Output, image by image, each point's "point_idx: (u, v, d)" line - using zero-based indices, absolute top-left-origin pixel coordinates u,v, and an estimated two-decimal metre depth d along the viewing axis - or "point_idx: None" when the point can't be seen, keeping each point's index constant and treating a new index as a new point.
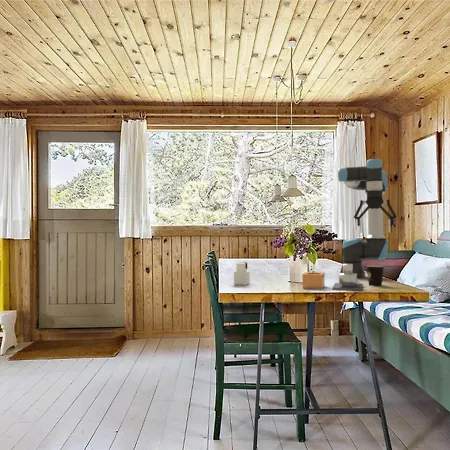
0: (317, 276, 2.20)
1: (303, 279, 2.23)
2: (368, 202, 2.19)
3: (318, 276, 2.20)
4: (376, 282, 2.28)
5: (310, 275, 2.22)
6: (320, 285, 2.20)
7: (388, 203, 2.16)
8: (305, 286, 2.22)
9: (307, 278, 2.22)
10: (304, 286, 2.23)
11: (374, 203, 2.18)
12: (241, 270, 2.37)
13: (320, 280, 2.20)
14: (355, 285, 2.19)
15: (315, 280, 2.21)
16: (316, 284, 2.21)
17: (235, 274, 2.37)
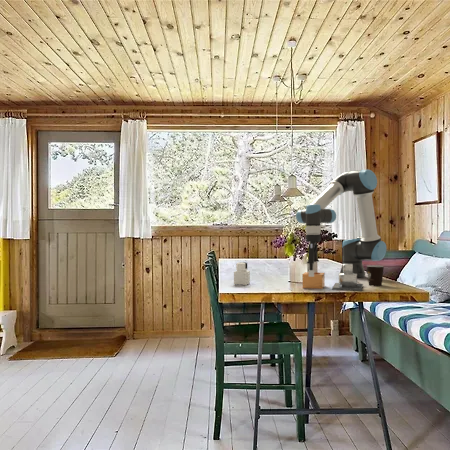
0: (317, 276, 2.20)
1: (303, 279, 2.23)
2: None
3: (318, 276, 2.20)
4: (376, 282, 2.28)
5: None
6: (320, 285, 2.20)
7: (309, 247, 2.20)
8: (305, 286, 2.22)
9: (307, 278, 2.22)
10: (304, 286, 2.23)
11: None
12: (241, 270, 2.37)
13: (320, 280, 2.20)
14: (355, 285, 2.19)
15: (315, 280, 2.21)
16: (316, 284, 2.21)
17: (235, 274, 2.37)
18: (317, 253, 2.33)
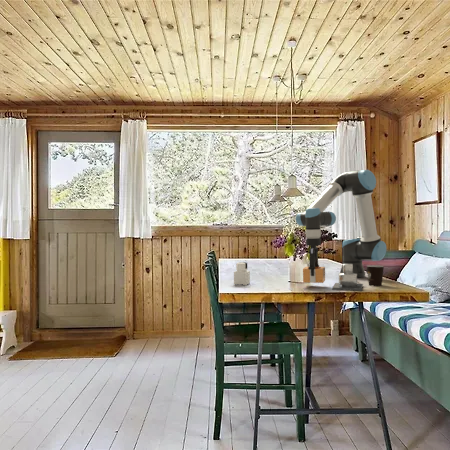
0: (317, 270, 2.21)
1: (303, 274, 2.23)
2: None
3: (319, 270, 2.20)
4: (376, 282, 2.28)
5: None
6: (321, 279, 2.20)
7: None
8: (306, 280, 2.23)
9: (308, 272, 2.22)
10: (305, 280, 2.23)
11: None
12: (241, 270, 2.37)
13: (321, 274, 2.20)
14: (355, 285, 2.19)
15: (316, 274, 2.21)
16: (317, 278, 2.21)
17: (235, 274, 2.37)
18: (317, 258, 2.33)
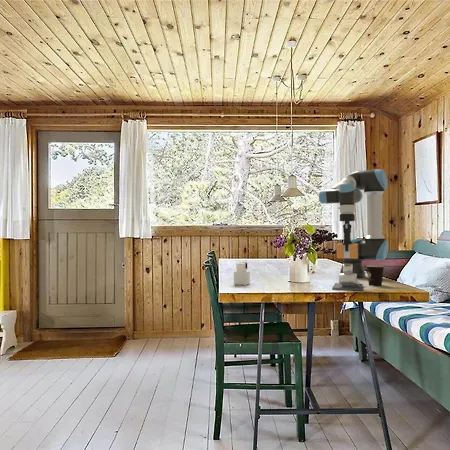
0: (352, 246, 2.17)
1: (337, 249, 2.19)
2: None
3: (353, 246, 2.17)
4: (376, 282, 2.28)
5: None
6: (355, 255, 2.16)
7: (344, 228, 2.17)
8: (339, 256, 2.19)
9: (341, 248, 2.18)
10: (338, 256, 2.19)
11: None
12: (241, 270, 2.37)
13: (355, 250, 2.16)
14: (355, 285, 2.19)
15: (350, 250, 2.17)
16: (351, 254, 2.17)
17: (235, 274, 2.37)
18: (350, 235, 2.29)
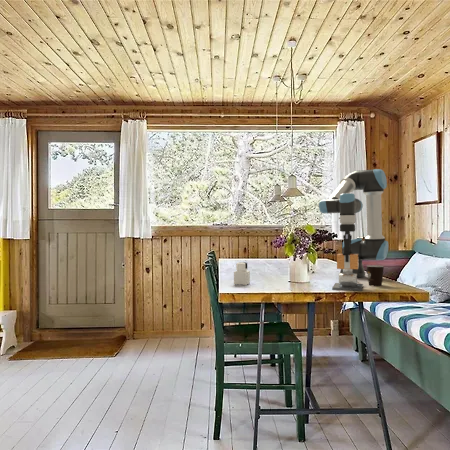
0: (352, 256, 2.17)
1: (337, 260, 2.19)
2: None
3: (353, 256, 2.17)
4: (376, 282, 2.28)
5: None
6: (355, 265, 2.16)
7: (344, 238, 2.17)
8: (340, 267, 2.19)
9: (342, 258, 2.18)
10: (339, 267, 2.19)
11: None
12: (241, 270, 2.37)
13: (355, 260, 2.16)
14: (355, 285, 2.19)
15: (350, 260, 2.17)
16: (351, 264, 2.17)
17: (235, 274, 2.37)
18: (350, 245, 2.29)
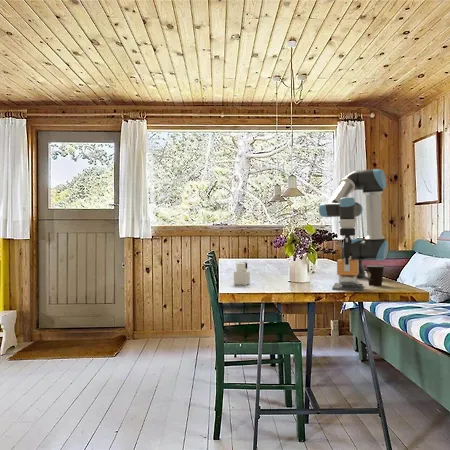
0: (352, 262, 2.17)
1: (338, 266, 2.19)
2: None
3: (354, 262, 2.17)
4: (376, 282, 2.28)
5: None
6: (355, 272, 2.16)
7: (344, 241, 2.17)
8: (340, 273, 2.19)
9: (342, 265, 2.18)
10: (339, 273, 2.19)
11: None
12: (241, 270, 2.37)
13: (355, 266, 2.16)
14: (355, 285, 2.19)
15: (350, 267, 2.17)
16: (351, 271, 2.17)
17: (235, 274, 2.37)
18: None
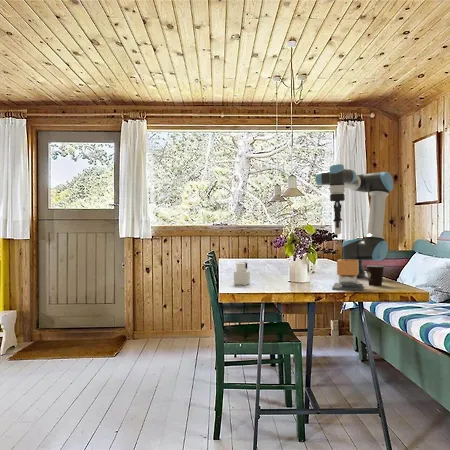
0: (352, 262, 2.17)
1: (338, 266, 2.19)
2: None
3: (354, 262, 2.17)
4: (376, 282, 2.28)
5: (345, 261, 2.18)
6: (355, 272, 2.16)
7: (334, 206, 2.27)
8: (340, 273, 2.19)
9: (342, 265, 2.18)
10: (339, 273, 2.19)
11: None
12: (241, 270, 2.37)
13: (355, 266, 2.16)
14: (355, 285, 2.19)
15: (350, 267, 2.17)
16: (351, 271, 2.17)
17: (235, 274, 2.37)
18: (340, 213, 2.40)
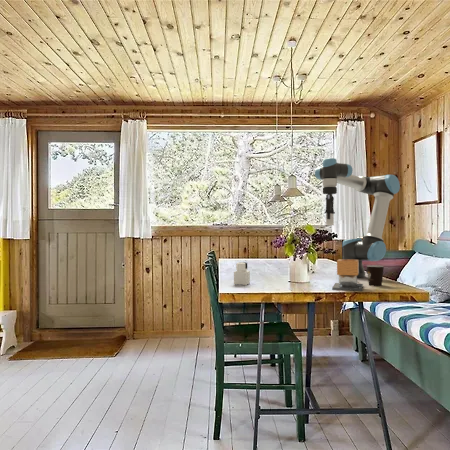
0: (352, 262, 2.17)
1: (338, 266, 2.19)
2: None
3: (354, 262, 2.17)
4: (376, 282, 2.28)
5: (345, 261, 2.18)
6: (355, 272, 2.16)
7: (326, 198, 2.34)
8: (340, 273, 2.19)
9: (342, 265, 2.18)
10: (339, 273, 2.19)
11: None
12: (241, 270, 2.37)
13: (355, 266, 2.16)
14: (355, 285, 2.19)
15: (350, 267, 2.17)
16: (351, 271, 2.17)
17: (235, 274, 2.37)
18: None
